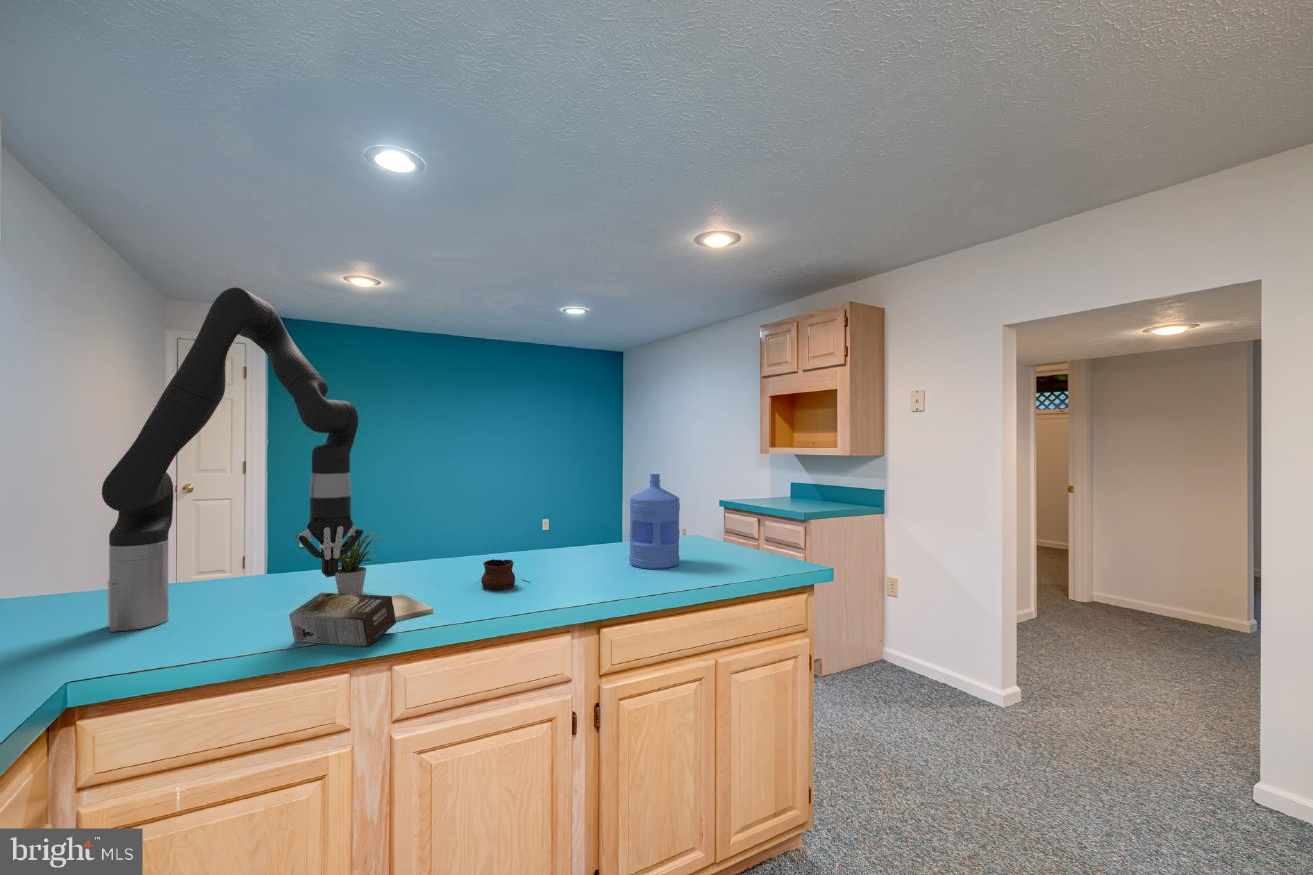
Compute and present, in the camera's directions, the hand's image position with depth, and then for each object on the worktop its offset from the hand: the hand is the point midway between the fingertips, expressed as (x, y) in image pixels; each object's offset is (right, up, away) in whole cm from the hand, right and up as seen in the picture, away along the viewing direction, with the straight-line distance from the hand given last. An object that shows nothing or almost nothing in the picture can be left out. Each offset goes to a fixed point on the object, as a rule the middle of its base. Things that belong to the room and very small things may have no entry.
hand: (330, 575), depth 121 cm
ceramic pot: (+27, -11, +30) cm, 42 cm away
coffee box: (-1, -7, -7) cm, 9 cm away
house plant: (-6, -10, +23) cm, 26 cm away
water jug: (+68, -11, +58) cm, 90 cm away
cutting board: (+6, -10, +7) cm, 14 cm away
